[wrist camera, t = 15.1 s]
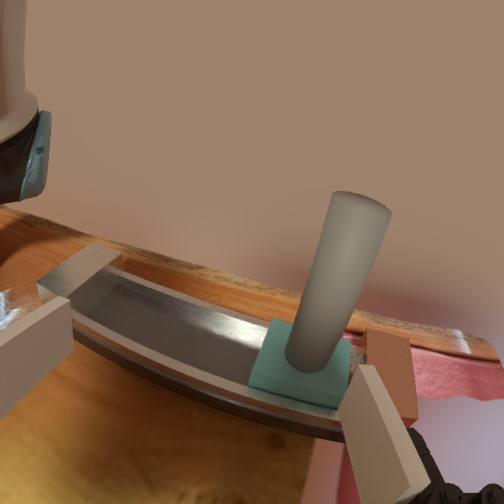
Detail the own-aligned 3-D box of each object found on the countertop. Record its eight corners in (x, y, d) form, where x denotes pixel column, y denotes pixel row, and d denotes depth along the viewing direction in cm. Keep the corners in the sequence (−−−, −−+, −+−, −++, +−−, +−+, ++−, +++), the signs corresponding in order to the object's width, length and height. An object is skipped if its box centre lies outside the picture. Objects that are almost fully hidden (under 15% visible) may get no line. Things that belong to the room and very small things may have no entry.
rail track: (49, 323, 27) (35, 282, 24) (98, 280, 36) (93, 241, 33) (384, 448, 21) (418, 418, 18) (384, 374, 29) (408, 338, 26)
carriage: (246, 391, 23) (292, 202, 15) (266, 338, 29) (307, 174, 21) (333, 414, 22) (432, 244, 14) (340, 359, 28) (408, 204, 20)
